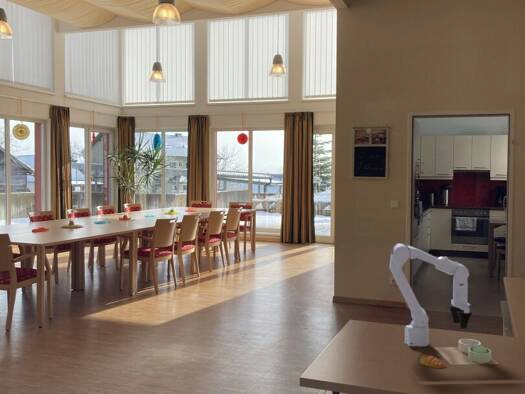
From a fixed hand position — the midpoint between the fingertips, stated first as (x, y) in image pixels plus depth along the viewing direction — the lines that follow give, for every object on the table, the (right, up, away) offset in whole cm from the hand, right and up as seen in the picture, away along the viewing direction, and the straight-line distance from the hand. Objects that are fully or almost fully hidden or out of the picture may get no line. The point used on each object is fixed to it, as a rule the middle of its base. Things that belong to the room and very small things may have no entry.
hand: (459, 325), depth 219 cm
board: (-2, -10, -11) cm, 15 cm away
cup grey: (+2, -9, -6) cm, 11 cm away
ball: (+2, -9, -16) cm, 18 cm away
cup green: (+2, -9, -16) cm, 18 cm away
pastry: (-18, -11, -20) cm, 29 cm away
